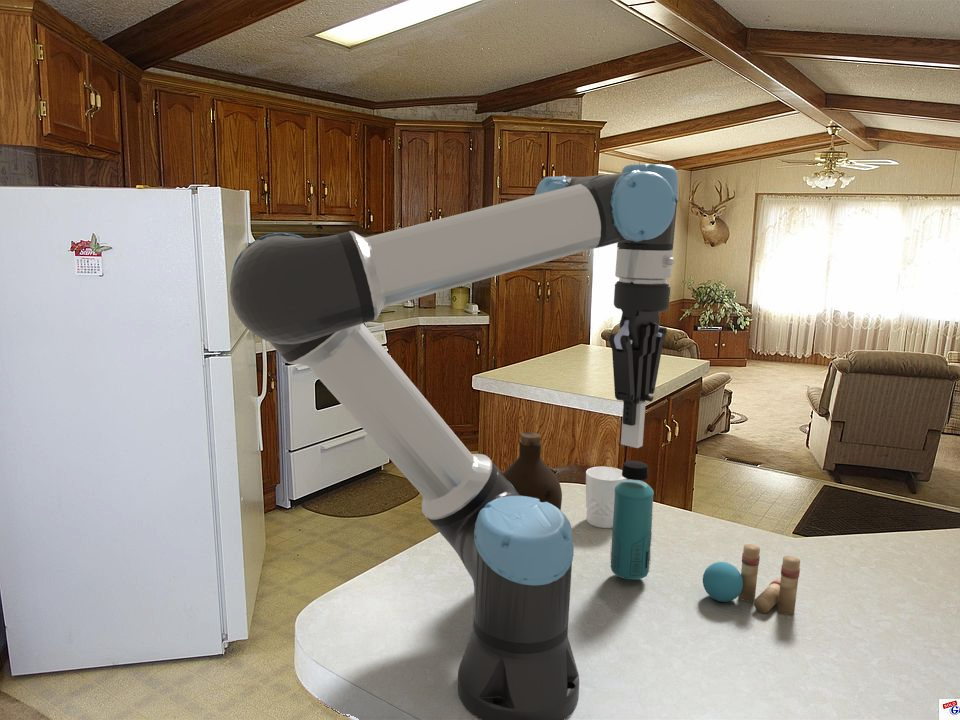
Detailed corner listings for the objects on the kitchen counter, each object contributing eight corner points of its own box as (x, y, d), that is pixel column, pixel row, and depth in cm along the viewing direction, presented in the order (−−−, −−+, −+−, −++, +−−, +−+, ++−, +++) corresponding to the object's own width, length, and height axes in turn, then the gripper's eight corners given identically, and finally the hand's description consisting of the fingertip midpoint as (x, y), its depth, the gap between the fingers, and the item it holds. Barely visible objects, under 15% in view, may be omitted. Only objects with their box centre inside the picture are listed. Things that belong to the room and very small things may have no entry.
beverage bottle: (649, 590, 118) (658, 471, 114) (607, 585, 119) (614, 467, 115) (648, 572, 124) (657, 458, 120) (608, 567, 125) (615, 455, 121)
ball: (746, 610, 113) (738, 582, 110) (706, 610, 115) (698, 583, 113) (746, 580, 117) (739, 552, 115) (707, 581, 120) (699, 554, 117)
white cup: (614, 533, 139) (617, 483, 137) (576, 523, 143) (579, 474, 141) (630, 519, 146) (633, 471, 144) (593, 510, 150) (596, 463, 148)
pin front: (767, 597, 111) (787, 577, 117) (751, 596, 113) (772, 577, 119) (772, 613, 111) (791, 592, 117) (755, 613, 112) (776, 592, 119)
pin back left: (745, 602, 115) (750, 552, 113) (734, 594, 117) (739, 545, 115) (758, 600, 116) (764, 549, 114) (747, 592, 118) (752, 542, 116)
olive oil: (566, 577, 121) (574, 431, 117) (542, 606, 112) (549, 449, 107) (508, 562, 126) (513, 421, 121) (480, 589, 117) (484, 438, 112)
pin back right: (785, 616, 111) (791, 564, 109) (773, 608, 113) (778, 556, 112) (798, 613, 112) (804, 561, 110) (786, 605, 114) (792, 554, 113)
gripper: (645, 285, 94) (633, 461, 98) (688, 280, 104) (675, 440, 108) (594, 281, 99) (585, 449, 103) (640, 276, 108) (629, 430, 113)
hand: (631, 444), depth 106 cm, fingers closed
